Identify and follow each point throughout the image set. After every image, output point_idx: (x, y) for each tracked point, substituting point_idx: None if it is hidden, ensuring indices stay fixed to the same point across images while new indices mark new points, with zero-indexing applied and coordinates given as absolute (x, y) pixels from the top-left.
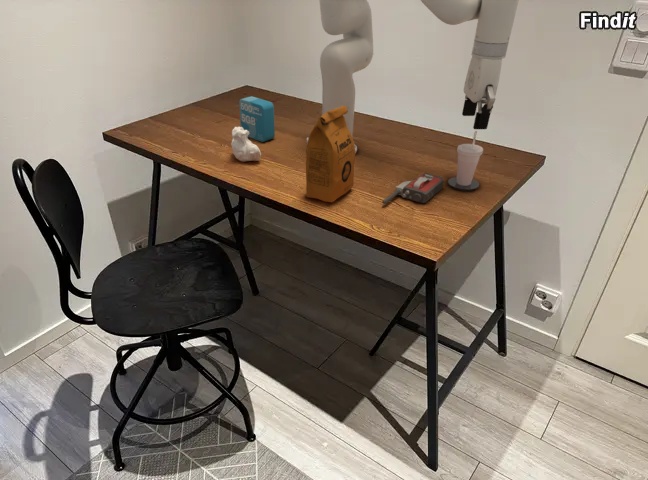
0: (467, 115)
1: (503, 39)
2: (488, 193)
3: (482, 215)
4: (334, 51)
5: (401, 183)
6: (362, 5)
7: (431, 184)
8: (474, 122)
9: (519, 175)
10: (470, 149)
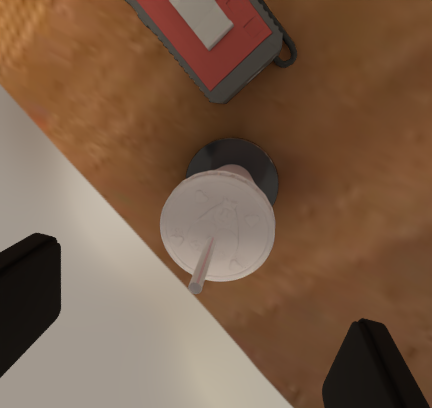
0: (341, 347)
1: None
2: None
3: (50, 140)
4: None
5: None
6: None
7: (171, 28)
8: (11, 257)
9: (249, 346)
10: (195, 222)
